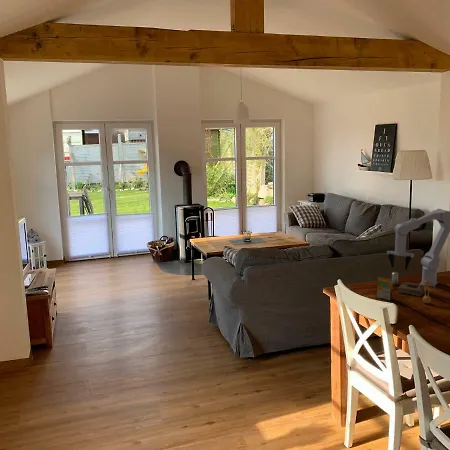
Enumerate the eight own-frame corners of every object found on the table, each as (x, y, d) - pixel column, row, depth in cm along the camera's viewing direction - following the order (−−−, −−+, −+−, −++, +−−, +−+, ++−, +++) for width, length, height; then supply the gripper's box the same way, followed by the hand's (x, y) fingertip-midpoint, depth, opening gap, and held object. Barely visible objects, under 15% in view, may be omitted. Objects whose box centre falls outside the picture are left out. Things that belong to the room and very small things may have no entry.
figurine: (418, 304, 242) (419, 281, 240) (417, 300, 248) (418, 278, 246) (435, 305, 240) (437, 282, 238) (434, 301, 246) (435, 279, 244)
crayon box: (392, 299, 251) (393, 278, 248) (389, 300, 248) (390, 279, 246) (379, 296, 255) (379, 275, 253) (376, 297, 253) (377, 276, 251)
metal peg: (392, 283, 277) (393, 271, 276) (398, 284, 275) (399, 272, 274) (390, 284, 275) (391, 273, 273) (396, 285, 273) (397, 274, 271)
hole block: (404, 287, 270) (404, 281, 269) (426, 290, 263) (426, 285, 262) (397, 292, 260) (397, 287, 260) (420, 296, 253) (420, 291, 253)
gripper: (385, 244, 269) (384, 267, 272) (411, 247, 261) (410, 271, 263) (389, 242, 275) (388, 265, 277) (415, 245, 266) (414, 268, 269)
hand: (399, 268), depth 271 cm, fingers open, 7 cm apart
